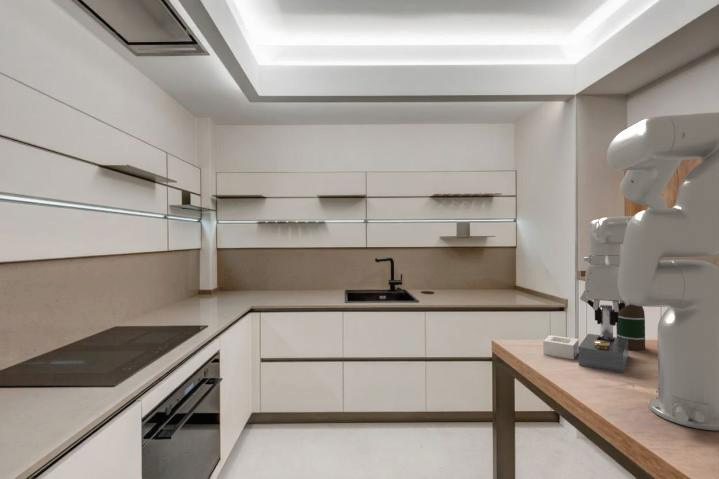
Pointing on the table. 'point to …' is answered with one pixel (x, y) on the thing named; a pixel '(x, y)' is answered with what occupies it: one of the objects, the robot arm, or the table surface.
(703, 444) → the table surface
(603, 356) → the socket block
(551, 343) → the holder
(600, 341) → the key
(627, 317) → the beer bottle
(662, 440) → the table surface
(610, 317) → the silver rounded peg
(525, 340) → the table surface
